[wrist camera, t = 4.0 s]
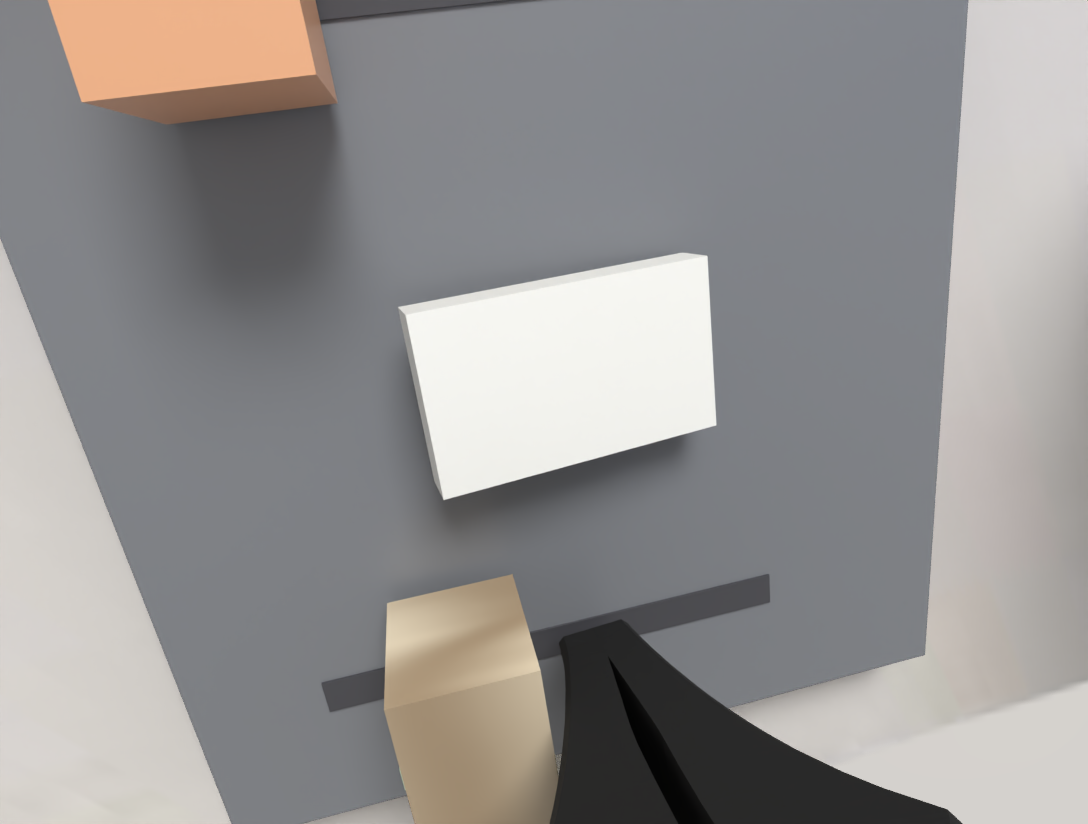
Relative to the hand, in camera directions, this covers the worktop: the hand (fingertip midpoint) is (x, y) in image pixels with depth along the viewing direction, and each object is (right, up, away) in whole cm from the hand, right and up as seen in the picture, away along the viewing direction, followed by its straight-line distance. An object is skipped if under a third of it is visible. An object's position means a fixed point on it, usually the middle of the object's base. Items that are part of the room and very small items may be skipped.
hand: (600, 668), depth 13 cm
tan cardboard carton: (-3, 0, 0) cm, 3 cm away
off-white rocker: (-1, +6, -2) cm, 6 cm away
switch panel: (-1, +7, 0) cm, 7 cm away
